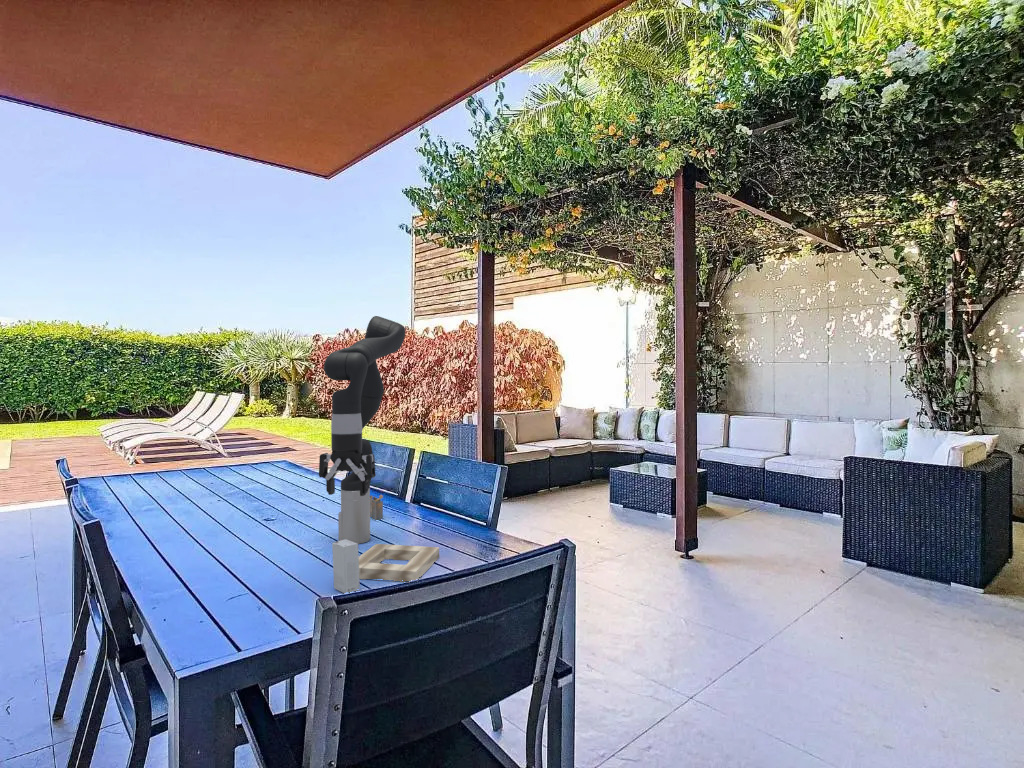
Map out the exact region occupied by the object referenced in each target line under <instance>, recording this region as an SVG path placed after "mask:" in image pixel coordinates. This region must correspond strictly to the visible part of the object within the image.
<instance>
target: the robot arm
mask: <svg viewBox="0 0 1024 768" xmlns="http://www.w3.org/2000/svg"><path fill="white" fill-rule="evenodd" d="M405 338H406V328H405V326H404V325H403V324H401V323H399V322H396V321H393V320H390V319H389V318H384V317H382V316H380V315H379V316H377V315H374V316H372V317H371V319H370V320H369V322H368V323H367V327H366V330H365V335H364V338H362V339H359V340H357V341H356V342H355V343H353V344H352V345H350V346H348V347H344V348H341V349H338V350H335V351H333V352H331V353H330V354H328V355H327V357H326V359H325V361H324V363H323V369H324V374H325V375H326V376H327V377H328V378H329V379H330V380H333V381H349V384H348V385H347V387H346V388H342V389H339V390H336V391H335V390H334V392H333V393H332V396H331V402H332V403H331V424H330V426H331V427H330V428H331V430H330V431H331V433H330V435H331V441H330V442H331V446H330V447H331V453H328V452H324V453H321V454H320V455H319V461H318V462H319V464H318V465H319V466H318V477H319V478H322V479H325V482H326V483H325V486H326V492H327V494H328V495H329V496H330V495H334V494H335V493H336V488H335V487H336V486H335V485H336V481H335V476H337V474H338V473H339V472H351V473H350V474H348V476H346V477H344V478H342V480H341V481H340V512H338V514H337V515H338V521H337V522H338V541H341V540H345V539H346V540H349V541H352V542H354V543H357V544H358V545H359V544H363V543H364V544H365V543H367V542H369V541H370V540H371V518H370V496H371V481H372V479H373V478H375V477H376V475H377V474H376V460H375V455H374V454H373V447H372V444H371V443H370V441H369V440H368V439H365V438H363V429H365V427H366V426H367V425H368V424H369V422H370V421H371V420H372V419H373V418H374V416H375V415H376V414H377V413H378V412H379V410H380V406H381V404H382V400H383V395H384V390H385V389H384V382H383V378H382V375H381V373H380V370H379V367H378V364H377V360H378V359H381V358H383V357H386V356H389V355H392V354H394V353H396V352H398V351H399V350H400V348H402V346H403V344H404V341H405ZM330 461H331V462H332V463H333V465H332V466H331V468H330V469H329V462H330Z"/></svg>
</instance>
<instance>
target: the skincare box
mask: <svg viewBox="0 0 1024 768" xmlns="http://www.w3.org/2000/svg"><path fill="white" fill-rule="evenodd" d="M331 546H332V568H333V569H332V571H333V572H332V573H333V588H334V590H336V591H339V592H340V593H343V594H345V593H346V592H352V591H356V592H359V591H360V586H361V585H360V579H359V556H360V555H359V544H357V543H354V542H352V541H349V540H346V539H345V540H341V541H339V540H337V541H335V542H332V544H331ZM357 589H359V590H357Z"/></svg>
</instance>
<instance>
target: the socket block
mask: <svg viewBox="0 0 1024 768" xmlns="http://www.w3.org/2000/svg"><path fill="white" fill-rule="evenodd" d="M439 558H440V547H438V546H437V547H436V546H422V545H406V544H405V545H404V544H401V545H400V544H389V543H388V544H387V543H386V544H384V543H375V544H374V545H373V546H371V547H370V548H369V549H367V550H366V551H365V552H363V553H362V554H361V555H359V580H366V579H383V580H394V581H393V582H395V581H400V582H399V583H406V582H405V581H411V580H416V579H419V580H420V579H421V578H422V577H423V576H424V575H423V574H425V573H427V571H429V569H430V568H431V567H432V566H433V565H434V564H435V563H436V561H438V560H439ZM389 559H393V561H406V560H409V561H408V562H407V563H406V564H397V563H383V561H385V560H389ZM381 561H382V562H381ZM434 562H435V563H434ZM433 563H434V564H433ZM421 576H422V577H421ZM419 577H421V578H419ZM402 580H403V581H402Z"/></svg>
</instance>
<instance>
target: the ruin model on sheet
mask: <svg viewBox="0 0 1024 768" xmlns="http://www.w3.org/2000/svg"><path fill="white" fill-rule="evenodd" d="M383 498H384V495H382V494H380V495H379V497H376V496H373V495H370V517H372V518H373V519H375V520H381V519H383V520H384V515H383V514H384V511H383V509H384V507H383V505H384V501H383V500H381V499H383ZM372 518H371V519H372ZM373 519H372V520H373ZM375 520H374V521H375Z"/></svg>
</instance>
